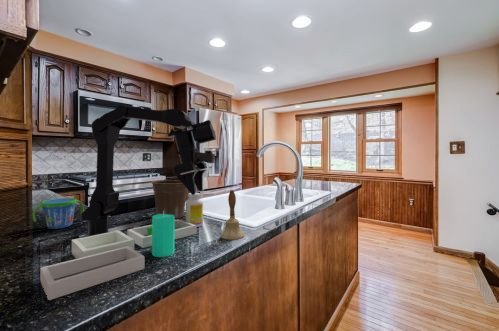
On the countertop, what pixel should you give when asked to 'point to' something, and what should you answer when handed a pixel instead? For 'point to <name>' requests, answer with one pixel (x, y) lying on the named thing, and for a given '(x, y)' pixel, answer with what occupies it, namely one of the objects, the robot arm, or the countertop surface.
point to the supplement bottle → (194, 209)
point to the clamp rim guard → (146, 241)
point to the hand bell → (232, 222)
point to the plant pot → (170, 197)
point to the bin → (100, 243)
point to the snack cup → (58, 212)
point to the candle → (163, 235)
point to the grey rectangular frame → (91, 277)
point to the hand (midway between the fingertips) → (197, 192)
